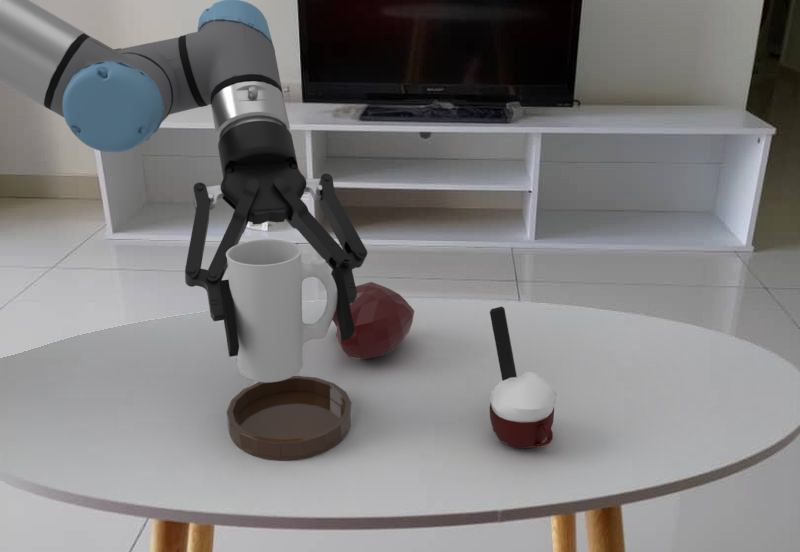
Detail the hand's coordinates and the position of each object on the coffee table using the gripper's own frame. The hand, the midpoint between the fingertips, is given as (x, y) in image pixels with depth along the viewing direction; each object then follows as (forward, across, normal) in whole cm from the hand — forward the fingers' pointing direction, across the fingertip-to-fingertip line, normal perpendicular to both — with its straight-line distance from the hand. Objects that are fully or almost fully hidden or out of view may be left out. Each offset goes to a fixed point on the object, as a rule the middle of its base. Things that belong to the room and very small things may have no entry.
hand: (292, 343), depth 69 cm
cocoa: (+12, +21, +3) cm, 24 cm away
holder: (+5, 0, +10) cm, 11 cm away
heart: (-4, +13, +19) cm, 23 cm away
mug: (+1, 0, +5) cm, 5 cm away
